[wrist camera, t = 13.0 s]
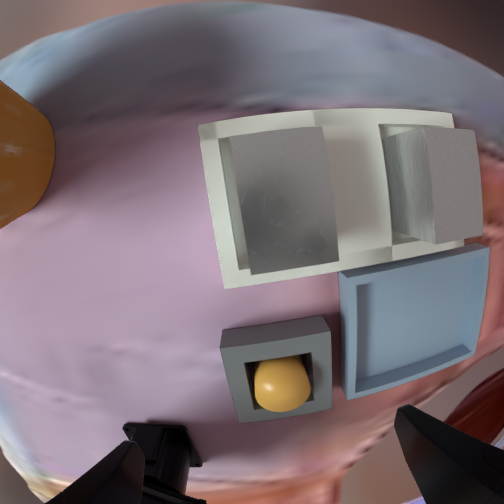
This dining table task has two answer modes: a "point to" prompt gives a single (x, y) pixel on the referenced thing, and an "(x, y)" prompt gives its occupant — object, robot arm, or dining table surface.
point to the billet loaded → (285, 199)
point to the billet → (434, 184)
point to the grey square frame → (275, 346)
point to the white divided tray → (342, 181)
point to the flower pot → (22, 155)
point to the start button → (281, 383)
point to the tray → (410, 317)
